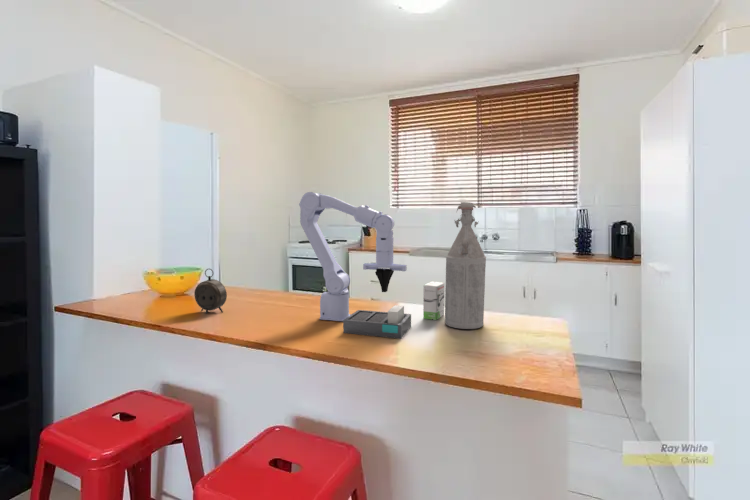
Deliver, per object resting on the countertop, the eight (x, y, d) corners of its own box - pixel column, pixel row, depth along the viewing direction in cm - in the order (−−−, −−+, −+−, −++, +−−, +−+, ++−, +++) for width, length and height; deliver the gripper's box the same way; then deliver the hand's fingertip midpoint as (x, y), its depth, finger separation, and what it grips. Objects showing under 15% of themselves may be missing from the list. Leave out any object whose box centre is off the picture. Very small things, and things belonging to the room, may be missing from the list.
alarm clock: (228, 311, 144) (226, 268, 142) (219, 315, 139) (217, 270, 137) (202, 310, 147) (200, 267, 145) (192, 313, 141) (190, 269, 140)
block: (387, 330, 117) (387, 311, 116) (394, 323, 124) (394, 305, 124) (397, 331, 116) (397, 312, 115) (403, 324, 123) (404, 305, 123)
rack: (342, 333, 118) (342, 320, 118) (358, 321, 131) (358, 309, 130) (400, 339, 112) (401, 325, 112) (411, 326, 125) (411, 314, 125)
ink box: (436, 320, 132) (436, 286, 131) (422, 318, 134) (423, 284, 133) (444, 314, 139) (445, 282, 138) (431, 313, 142) (431, 280, 141)
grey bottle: (442, 330, 121) (444, 201, 117) (446, 315, 138) (448, 202, 134) (484, 333, 118) (488, 200, 114) (484, 318, 134) (487, 202, 131)
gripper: (360, 251, 128) (360, 292, 129) (403, 253, 124) (402, 295, 125) (367, 249, 135) (367, 288, 136) (408, 250, 130) (407, 291, 132)
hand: (384, 291), depth 131 cm, fingers closed
